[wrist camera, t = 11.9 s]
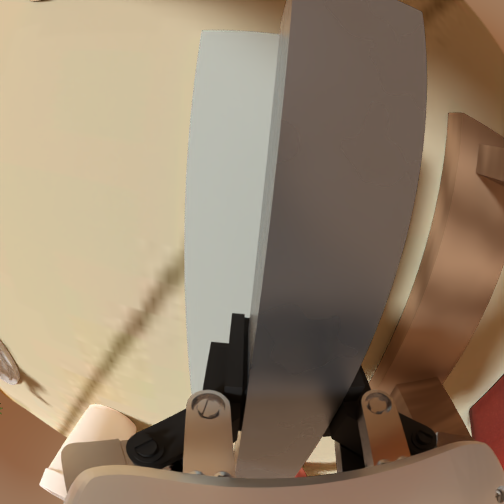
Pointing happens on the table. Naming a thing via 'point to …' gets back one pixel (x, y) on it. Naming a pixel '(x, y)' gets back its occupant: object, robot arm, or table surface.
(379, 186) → the rail
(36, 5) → the table surface
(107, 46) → the table surface
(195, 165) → the mat
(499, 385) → the plant pot
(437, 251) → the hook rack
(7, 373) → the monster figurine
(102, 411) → the foam cup
